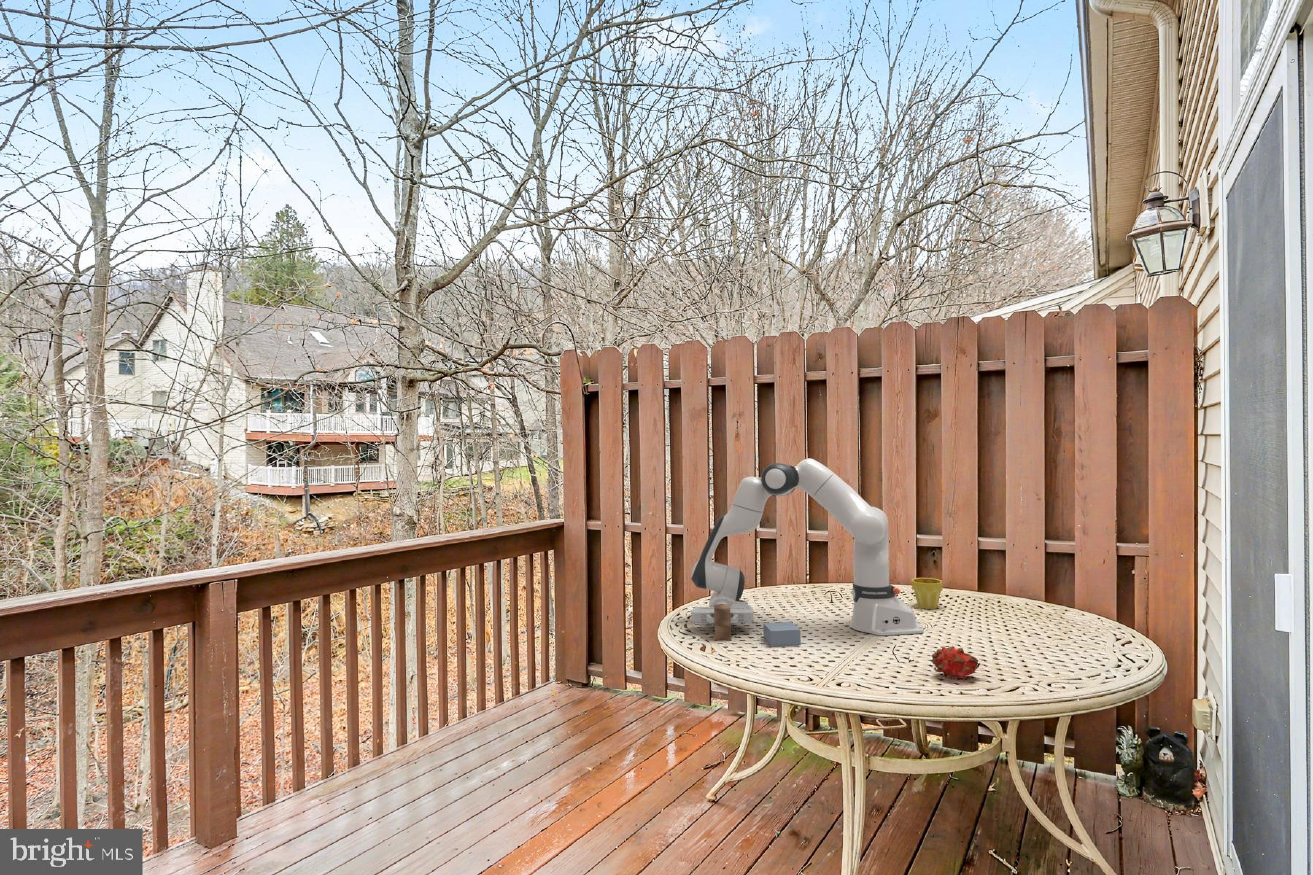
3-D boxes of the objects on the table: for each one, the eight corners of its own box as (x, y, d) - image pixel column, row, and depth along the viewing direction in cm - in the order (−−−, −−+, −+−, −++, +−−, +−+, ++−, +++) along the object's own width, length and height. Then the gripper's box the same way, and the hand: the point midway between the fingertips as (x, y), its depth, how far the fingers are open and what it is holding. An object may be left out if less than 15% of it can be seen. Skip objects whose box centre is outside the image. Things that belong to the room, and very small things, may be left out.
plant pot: (916, 610, 230) (915, 583, 230) (909, 603, 240) (908, 577, 240) (946, 610, 228) (945, 583, 228) (938, 603, 238) (937, 577, 239)
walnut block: (730, 635, 204) (729, 604, 205) (731, 640, 199) (730, 608, 200) (715, 635, 205) (714, 604, 205) (715, 640, 200) (714, 608, 200)
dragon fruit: (927, 681, 166) (976, 689, 164) (937, 671, 159) (988, 679, 157) (925, 648, 171) (973, 656, 169) (934, 637, 164) (984, 645, 162)
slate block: (791, 637, 202) (791, 621, 202) (800, 646, 193) (800, 629, 193) (763, 639, 201) (763, 623, 201) (771, 647, 192) (771, 631, 192)
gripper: (690, 600, 216) (689, 611, 202) (751, 600, 214) (754, 611, 200) (691, 619, 216) (689, 631, 202) (752, 619, 214) (755, 631, 200)
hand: (722, 621), depth 201 cm, fingers closed on walnut block, 5 cm apart
